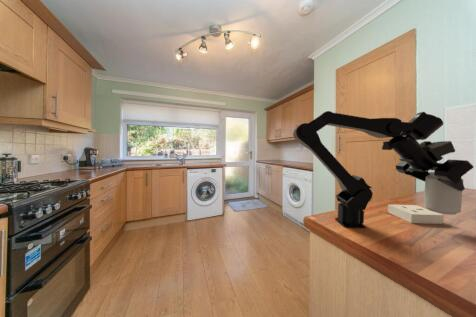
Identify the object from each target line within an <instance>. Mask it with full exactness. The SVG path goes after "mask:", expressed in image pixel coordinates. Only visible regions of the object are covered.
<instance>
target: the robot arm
mask: <svg viewBox="0 0 476 317" xmlns="http://www.w3.org/2000/svg"><path fill="white" fill-rule="evenodd" d="M326 126H329V127H330V126H331V127H336V128H341V129H348V130H354V131H360V132H363V133H365V134H367V135H369V136H371V137H374V138H378V139H388V138H390V139H389V140H388V141H387V140H386V141H383V142H382V146H381V150H382V151H391V150H393V151H394V152H395V153H396V154H397V155H398V156H399V158H398V160H399V161H400V162H398V163H397V164H396V165H395V170H396V171H397V172H398V173H400V174H404V175H406V176H409V177H412V178H415V179H417V180H420V181H422V182H424V183H425V179H426V176H428V175H429V172H430V171H433V172H434V175H435V176H436V177H437V178H439V179H437V180H438V181H440V182H442V183H444V184H447V185H449V186H451V187H453V188H455V189H457V190H459V191H463V192H464V190H465V184H464V181H463V182H462V179H463V178H462V177H463V176H464V175H466V174H467V173H468V172H469V171H471V170H472V169H473V168H474V167H475V166H474V165H473V164H472V163H471V162H470V161H469V160H467V159H466V160H464V159H447V160H446V161H445V162H443V163H442V162H441V160H443V159H444V157H443V156H446V155H449V154H450V153H451V154H452V153H456V149H455V147H454V145H453V142H452V141H451V140H447V141H445V140H444V141H433V142H432V141H431V140H430V141H429V140H427V139H428V138H429V137H430V136H432V134H434V133H435V132H436V131H437V130H439V129H441V127H442V126H444V121H443V120H442V119H441V118H440V117H439V116H438V117H437V116H436V115H435V114H434V115H433V114H429V113H426V112H425V111H421V112H418V113H417V114H415V115H414V116H413V118H411V119H410V120H409V121H408V122H406V121H402V119H400V118H397V117H379V118H367V117H363V116H362V117H361V116H355V115H351V114H350V115H349V114H345V113H344V114H343V113H338V112H332V110H331V111H330V110H328V111H323V113H321V114H320V115H318V116H317V117H316V118H314V119H313V120H311V121H309V122H308V123H307V122H306V123H304V122H303V123H301V124H299V125H297V126H296V127H295V128H294V130H293V134H292V135H293V138H294V139H295V141H297V142H298V143H300V145H301V146H303V147H305V148H306V149H308V150H309V151H311V152H312V154H313V155H314V156H315V157H316V158H317V160H319V161H320V163H321V164H322V165H323V167H325V168H326V170H327V171H329V173H330V174H331V175H332V176H333V177H334V178H335V179H336V181H337V182H338V185H339V188H340V190H341V191H339V193H338V194H336V195H335V198H336V200H337V201H338V202H339V203H337V217H335V220H336V221H337V222H338V223H339V224H340V225H342V226H343V227H345V228H361V229H363V228H366V225H365V224H364V222H365V220H364V219H365V210H366V208H367V206H368V205H369V204H368V203H369V202H370V201H372V198H373V191H372V186H370V185H369V184H368V183H367V182H366V180H365V179H364V178H363V177H361V176H358V175H354V174H350V173H349V171H348V170H347V169H346V168H345V167H344V166H343V165H342V164H341V163H340V162H339V161H338V159H337V158H336V157H335V156H334V155H333V153H332V152H330V150H329V149H328V148H327V147H326V146H325V145H324V144H323V142H322V141H321V138H320V135H319V134H318V132H319V131H320V130H322V129H323V128H324V127H326ZM424 140H426V141H424ZM419 141H422V142H419Z"/></svg>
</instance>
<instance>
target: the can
mask: <svg viewBox="0 0 476 317" xmlns="http://www.w3.org/2000/svg"><path fill="white" fill-rule="evenodd" d="M428 172H429V175H428V176H426V179H425V182H424V195H423V207H425V209H428V210H430V211H433V212H437V213H439V214H442V215H451V216H452V215H453V216H454V215H457V214H460V213H461V212H462V203H463V202H462V201H463V192H464V190H463V191H459V190H457V189H455V188H453V187H451V186H449V185H447V184H444V183H442V182H440V181H438V180H437V179H439V178H437V177H436V176H435V175H434V171H428ZM462 182H463V183H464V178H462Z"/></svg>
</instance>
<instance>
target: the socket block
mask: <svg viewBox="0 0 476 317" xmlns="http://www.w3.org/2000/svg"><path fill="white" fill-rule="evenodd" d="M387 213H389V214H391V215H393V216H395V217H398V218H400V219H402V220H404V221H406V222H407V223H411V224H432V225H433V224H435V225H436V224H437V225H439V224H441V225H444V220H445V219H444V218H445V214H442V213H437V212H433V211H430V210H428V209H427V208H426V207H425V208H424V207H421V206H419V205H416V204H387Z"/></svg>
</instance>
